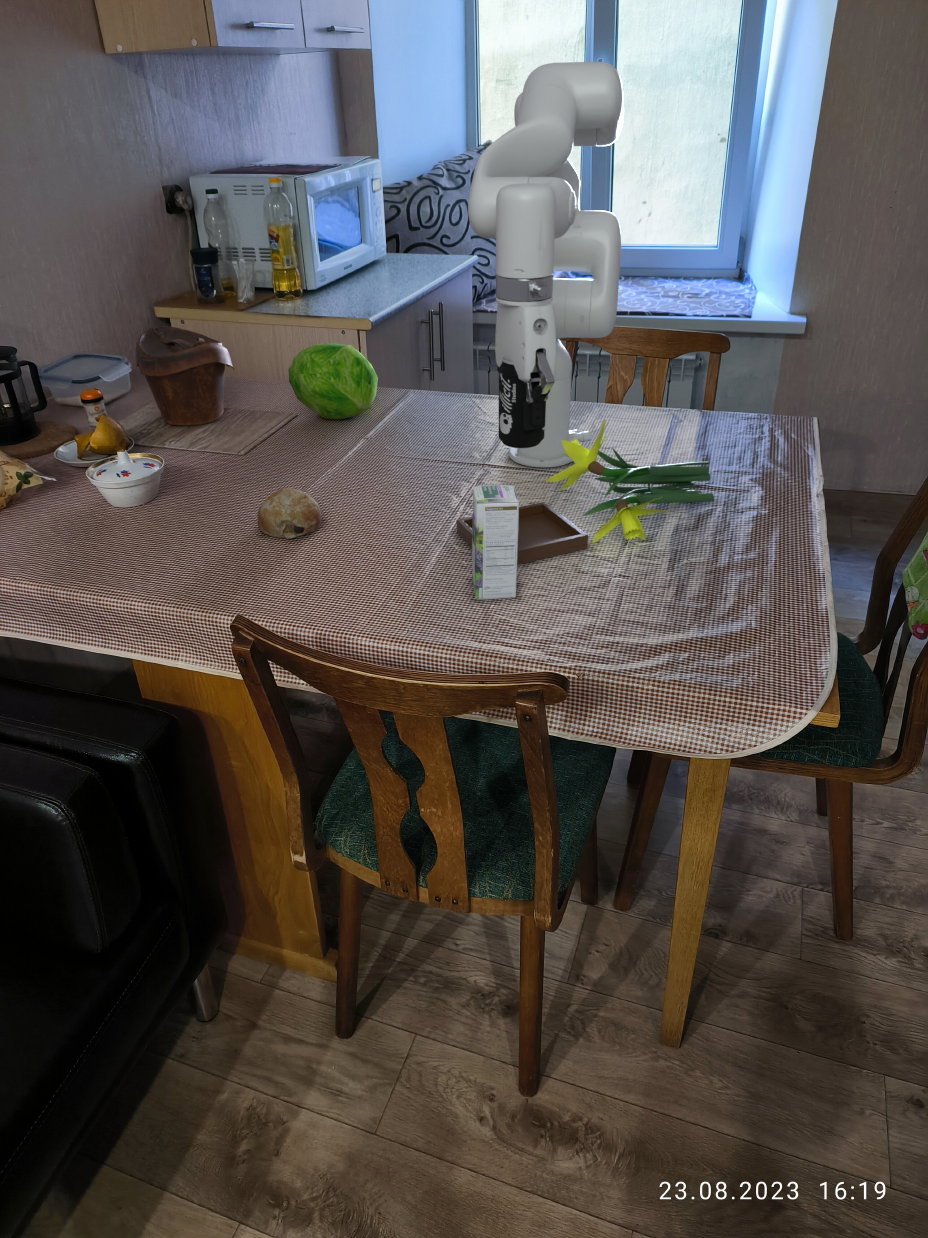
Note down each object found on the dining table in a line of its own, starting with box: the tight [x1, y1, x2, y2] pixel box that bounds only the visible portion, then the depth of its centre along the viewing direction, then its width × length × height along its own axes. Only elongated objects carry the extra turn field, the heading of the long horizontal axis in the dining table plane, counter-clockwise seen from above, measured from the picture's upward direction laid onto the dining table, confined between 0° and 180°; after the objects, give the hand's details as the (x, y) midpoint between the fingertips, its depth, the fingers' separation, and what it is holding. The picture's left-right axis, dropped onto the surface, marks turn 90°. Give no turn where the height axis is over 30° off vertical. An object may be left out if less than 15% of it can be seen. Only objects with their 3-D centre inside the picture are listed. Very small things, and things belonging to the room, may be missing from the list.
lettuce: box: [288, 342, 379, 420], centre depth 181 cm, size 17×20×17 cm
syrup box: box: [471, 484, 520, 601], centre depth 116 cm, size 6×6×14 cm
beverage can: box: [498, 357, 545, 448], centre depth 121 cm, size 7×7×12 cm
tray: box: [456, 501, 589, 566], centre depth 132 cm, size 16×14×2 cm
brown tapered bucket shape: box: [134, 325, 236, 427], centre depth 181 cm, size 18×20×18 cm
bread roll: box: [256, 487, 323, 540], centre depth 137 cm, size 10×10×8 cm
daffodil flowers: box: [544, 419, 715, 545], centre depth 132 cm, size 17×15×35 cm
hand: (521, 419), depth 122 cm, fingers closed on beverage can, 6 cm apart
